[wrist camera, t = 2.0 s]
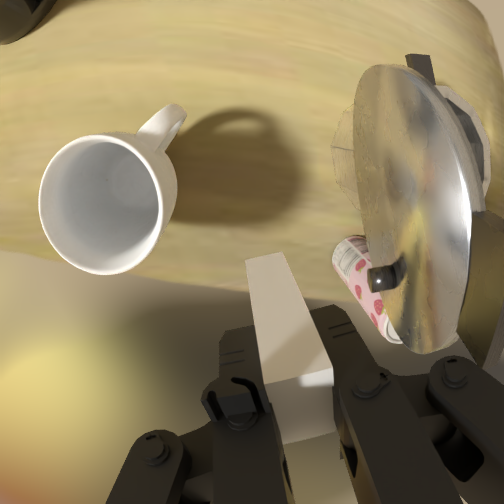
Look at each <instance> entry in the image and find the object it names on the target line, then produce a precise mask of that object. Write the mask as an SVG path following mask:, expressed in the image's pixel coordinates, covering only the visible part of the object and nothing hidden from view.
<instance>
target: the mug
mask: <svg viewBox="0 0 504 504" xmlns="http://www.w3.org/2000/svg"><path fill="white" fill-rule="evenodd" d="M186 116H187V114H186V111H185V110H184V109H183V108H182V107H181V106H179V105H177V104H169V105H167V106H165V107H164V108H162V109H161V110H160V111H159V112H157V113H156V114H155V115H154V116H153V117H152V118H151V119H149V120H148V121H147V122H146V123H145V124H144V125H143V126H142V127H141V128H140V129H139V130H138V132H137V133H136V134H131V133H126V132H108V133H99V134H93V135H88V136H84V137H81V138H78V139H76V140H74V141H72V142H70V143H69V144H67V145H66V146H64V147H63V148H62V149H61V150H59V151H58V152H57V154H56V155H55V156H54V157H53V158H52V160H51V161H50V163H49V165H48V166H47V168H46V170H45V172H44V175H43V178H42V181H41V185H40V191H39V214H40V219H41V223H42V226H43V229H44V231H45V234H46V236H47V238H48V239H49V241H50V243H51V244H52V246H53V247H54V248H55V250H56V251H57V252H58V253H59V254H60V255H61V256H62V257H63V258H64V259H65V260H66V261H68V262H69V263H71V264H72V265H74V266H75V267H77V268H79V269H81V270H84V271H86V272H89V273H93V274H99V275H112V274H118V273H122V272H125V271H128V270H130V269H132V268H133V267H135V266H137V265H138V264H139V263H141V262H142V261H143V260H144V259H145V258H146V257H147V256H148V255H149V254H150V253H151V251H152V250H153V249H154V247H155V245H156V244H157V242H158V241H159V239H160V237H161V235H162V234H163V233H164V230H165V228H166V227H167V225H168V222H169V221H170V218H171V215H172V214H173V210H174V207H175V203H176V199H177V189H178V188H177V178H176V174H175V170H174V167H173V165H172V162H171V161H170V159H169V157H168V156H167V154H166V153H165V150H166V149H167V147H168V146H169V144H170V143H171V141H172V140H173V138H174V137H175V135H176V133H177V132H178V130H179V129H180V127H181V125H182V124H183V122H184V120H185V119H186Z"/></svg>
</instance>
